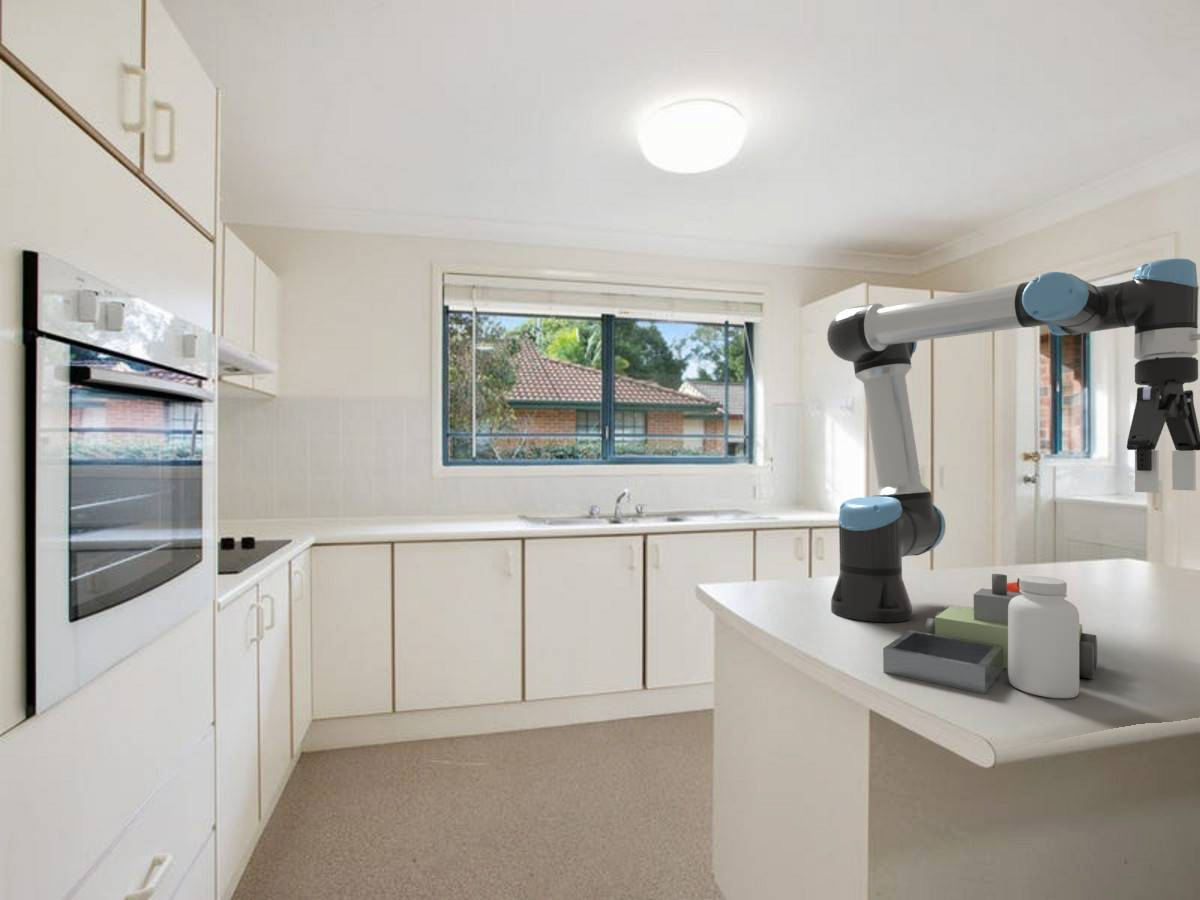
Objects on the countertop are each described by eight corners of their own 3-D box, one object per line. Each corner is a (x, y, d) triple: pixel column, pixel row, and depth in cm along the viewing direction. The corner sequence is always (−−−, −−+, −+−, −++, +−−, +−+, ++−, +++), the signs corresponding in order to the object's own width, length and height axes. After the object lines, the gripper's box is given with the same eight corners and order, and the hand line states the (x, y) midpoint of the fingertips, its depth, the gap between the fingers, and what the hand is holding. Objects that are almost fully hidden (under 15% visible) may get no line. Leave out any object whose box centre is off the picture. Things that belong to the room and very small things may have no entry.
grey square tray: (883, 672, 92) (883, 648, 92) (910, 651, 101) (909, 630, 101) (985, 694, 83) (984, 667, 83) (1003, 669, 93) (1003, 646, 93)
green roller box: (923, 652, 101) (922, 572, 101) (941, 637, 109) (940, 563, 109) (1091, 684, 86) (1089, 590, 87) (1097, 664, 95) (1096, 579, 95)
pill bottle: (1056, 704, 80) (1055, 587, 80) (995, 683, 87) (993, 576, 87) (1093, 694, 83) (1092, 582, 83) (1031, 675, 90) (1030, 572, 90)
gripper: (1161, 348, 90) (1161, 494, 90) (1227, 361, 102) (1228, 490, 102) (1099, 355, 97) (1100, 492, 97) (1169, 367, 109) (1169, 488, 109)
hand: (1166, 491), depth 99 cm, fingers open, 13 cm apart
